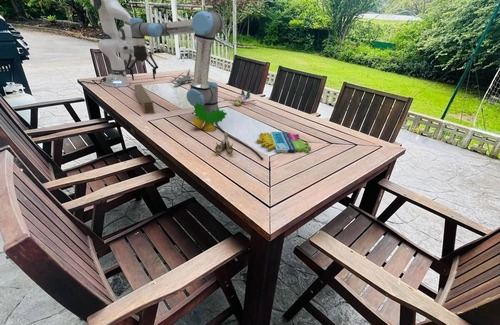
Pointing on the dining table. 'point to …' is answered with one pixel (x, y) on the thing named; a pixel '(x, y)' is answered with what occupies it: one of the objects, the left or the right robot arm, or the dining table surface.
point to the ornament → (207, 117)
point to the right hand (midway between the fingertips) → (143, 79)
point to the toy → (241, 99)
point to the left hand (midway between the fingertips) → (136, 66)
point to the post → (144, 99)
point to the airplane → (183, 79)
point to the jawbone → (224, 145)
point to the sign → (283, 142)
